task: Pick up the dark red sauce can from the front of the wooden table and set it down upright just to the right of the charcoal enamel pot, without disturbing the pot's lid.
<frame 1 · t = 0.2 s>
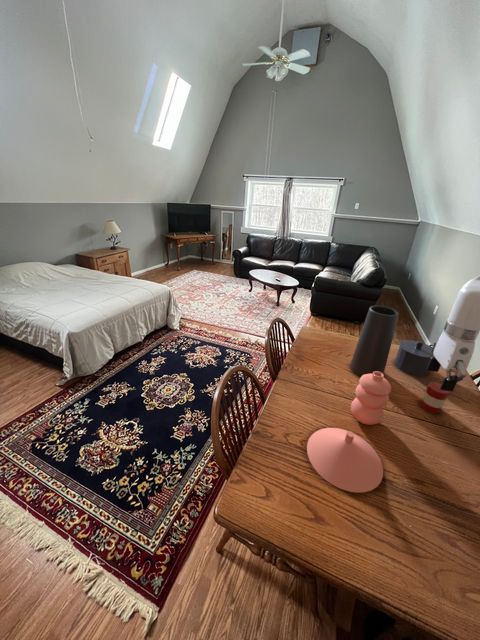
hand: (438, 379, 82), 19 cm above the table, tool pointing down, fingers open, 9 cm apart
sauce can: (430, 407, 99), on the table
pot lid: (417, 349, 118), point 9 cm above the table, touching pot
ceramic vessels: (351, 441, 83), on the table
vase: (366, 370, 118), on the table
pot: (410, 366, 122), on the table
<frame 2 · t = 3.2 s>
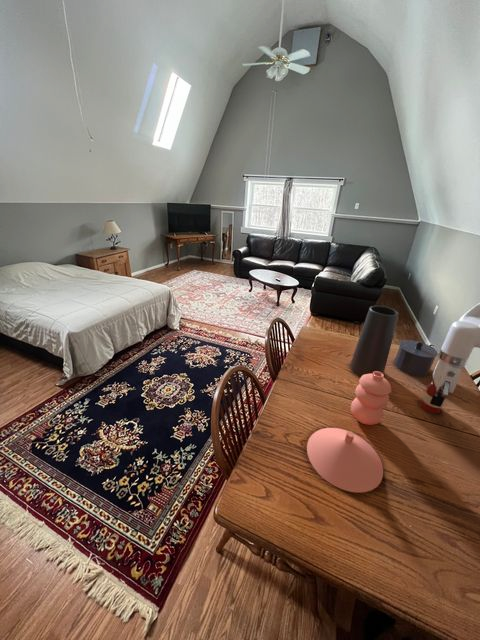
hand: (433, 398, 97), 4 cm above the table, tool pointing down, fingers closed on sauce can, 6 cm apart
sauce can: (430, 407, 99), on the table, touching gripper
everything else where it was.
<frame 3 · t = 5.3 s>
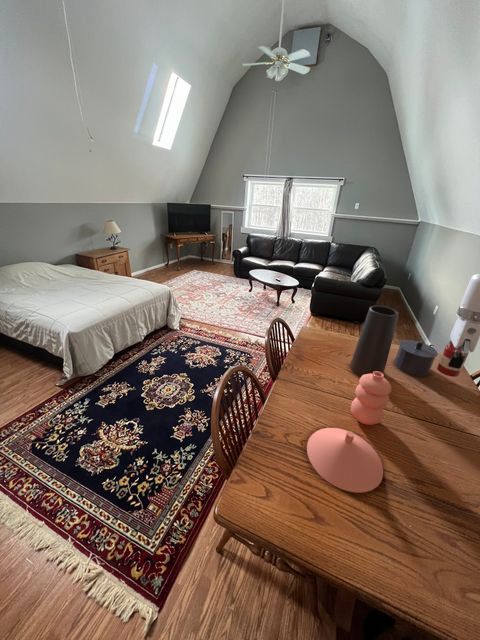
hand: (451, 361, 91), 20 cm above the table, tool pointing down, fingers closed on sauce can, 6 cm apart
sauce can: (447, 371, 93), point 16 cm above the table, touching gripper
everything else where it was.
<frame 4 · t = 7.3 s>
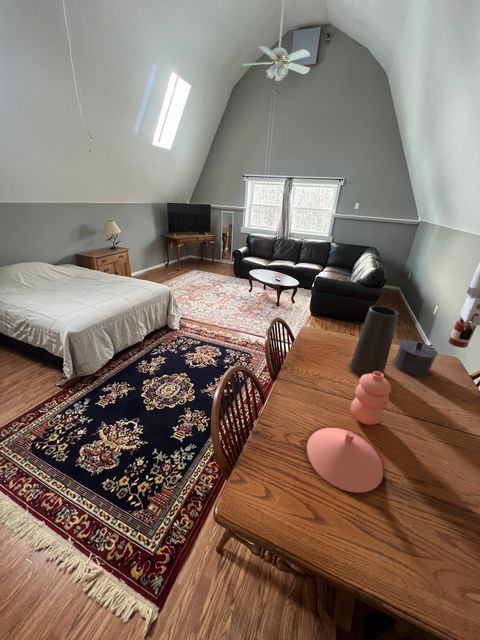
hand: (461, 335, 107), 21 cm above the table, tool pointing down, fingers closed on sauce can, 6 cm apart
sauce can: (457, 343, 108), point 17 cm above the table, touching gripper
everything else where it was.
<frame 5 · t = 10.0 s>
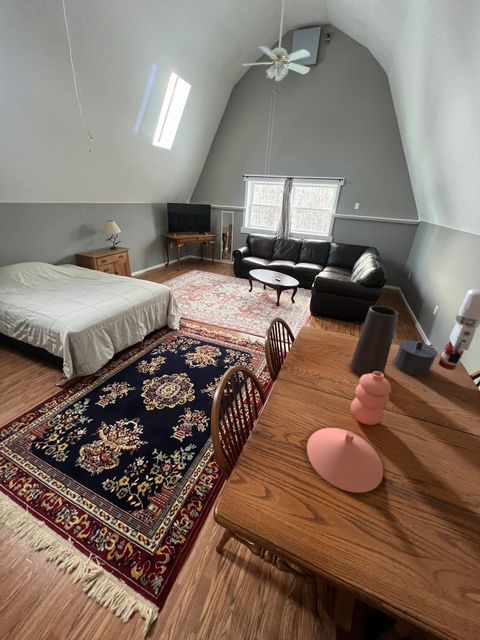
hand: (450, 357, 114), 9 cm above the table, tool pointing down, fingers closed on sauce can, 6 cm apart
sauce can: (446, 365, 116), point 5 cm above the table, touching gripper
everything else where it was.
when the fingers open (4 cm above the table, at t = 11.7 s): sauce can stays where it is, on the table.
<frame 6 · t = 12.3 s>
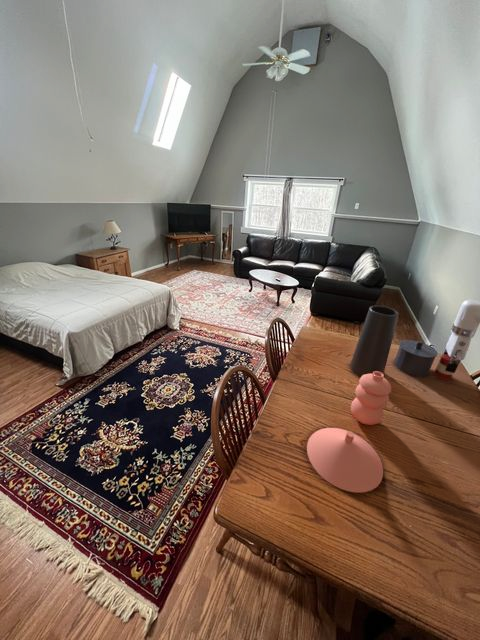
hand: (447, 365, 115), 5 cm above the table, tool pointing down, fingers open, 9 cm apart
sauce can: (442, 375, 118), on the table
everything else where it was.
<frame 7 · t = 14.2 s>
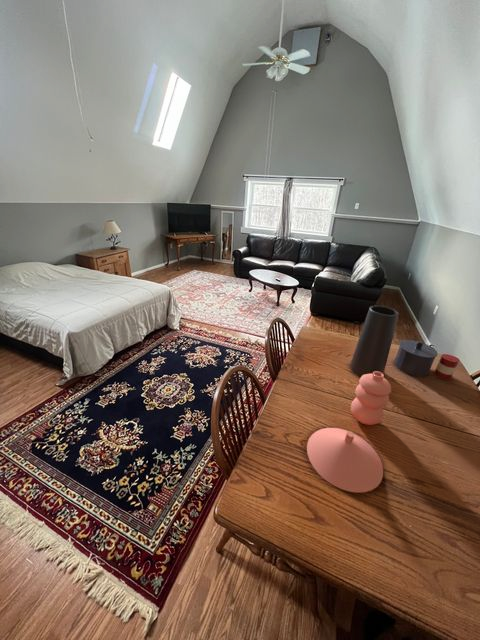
nothing on the table moved.
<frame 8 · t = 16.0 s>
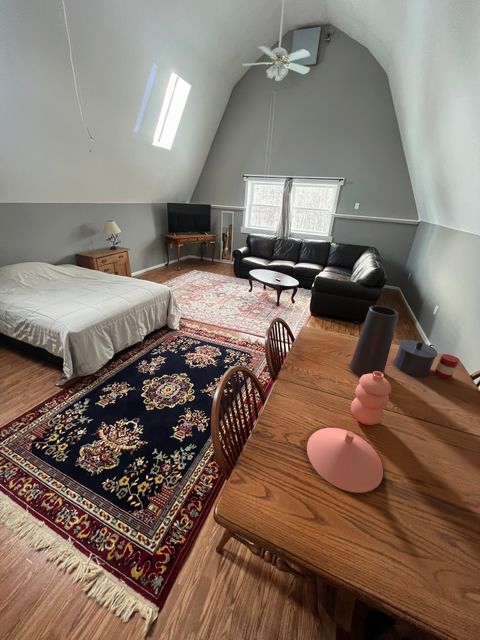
nothing on the table moved.
at the end: sauce can inside the target area on the table beside the pot (0.1 cm from its centre), on the table; sauce can tilted 0°; pot lid point 9.5 cm above the table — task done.
